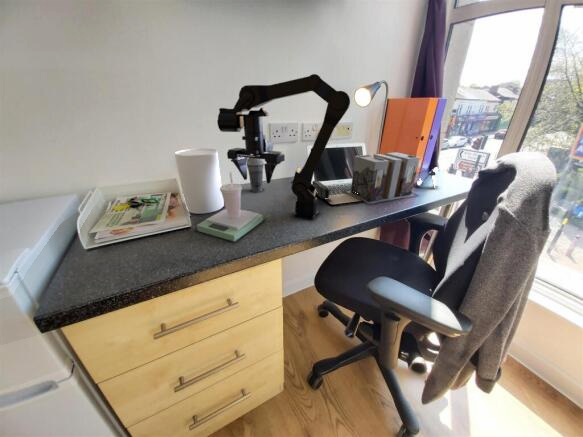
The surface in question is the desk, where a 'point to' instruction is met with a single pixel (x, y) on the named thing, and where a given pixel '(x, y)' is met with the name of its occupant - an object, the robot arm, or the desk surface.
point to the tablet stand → (427, 176)
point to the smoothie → (232, 198)
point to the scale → (230, 224)
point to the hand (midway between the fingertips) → (256, 181)
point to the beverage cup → (255, 173)
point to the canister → (200, 179)
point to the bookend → (383, 176)
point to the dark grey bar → (321, 190)
